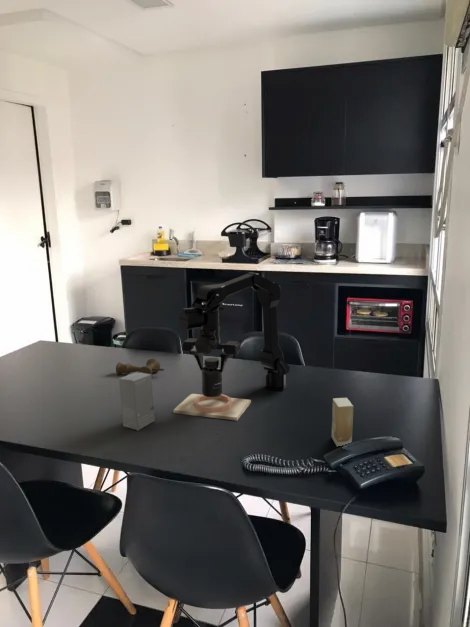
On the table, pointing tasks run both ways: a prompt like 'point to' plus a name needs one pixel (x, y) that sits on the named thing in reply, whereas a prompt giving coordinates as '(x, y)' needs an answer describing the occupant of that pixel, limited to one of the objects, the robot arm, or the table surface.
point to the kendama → (139, 368)
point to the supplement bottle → (211, 378)
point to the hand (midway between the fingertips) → (211, 371)
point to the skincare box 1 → (137, 400)
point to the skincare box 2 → (342, 421)
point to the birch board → (230, 414)
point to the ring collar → (212, 409)
